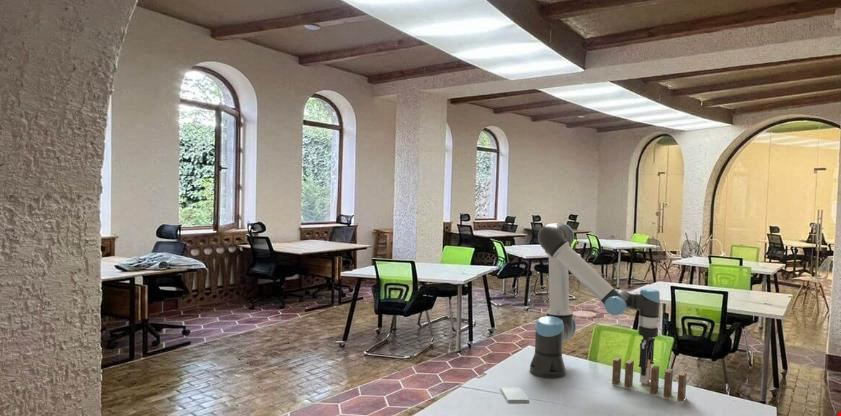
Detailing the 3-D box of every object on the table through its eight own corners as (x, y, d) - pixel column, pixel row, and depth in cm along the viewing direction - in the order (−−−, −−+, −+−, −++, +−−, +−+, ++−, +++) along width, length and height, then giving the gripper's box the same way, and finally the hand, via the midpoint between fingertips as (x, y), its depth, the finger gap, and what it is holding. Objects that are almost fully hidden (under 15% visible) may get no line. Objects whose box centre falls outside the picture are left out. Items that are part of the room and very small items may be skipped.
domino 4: (650, 393, 211) (651, 368, 211) (653, 389, 215) (654, 365, 215) (654, 394, 210) (656, 369, 209) (658, 390, 214) (659, 366, 213)
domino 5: (663, 396, 208) (664, 371, 208) (666, 392, 212) (668, 368, 211) (668, 397, 207) (669, 372, 206) (671, 394, 211) (672, 369, 210)
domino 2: (624, 386, 217) (625, 362, 217) (628, 383, 221) (629, 359, 221) (628, 387, 216) (630, 363, 216) (632, 384, 220) (633, 360, 220)
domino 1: (611, 383, 220) (613, 359, 220) (615, 380, 224) (617, 357, 224) (616, 384, 219) (617, 360, 219) (620, 381, 223) (621, 357, 223)
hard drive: (529, 399, 199) (520, 386, 211) (507, 399, 198) (500, 386, 210) (529, 404, 199) (520, 391, 211) (507, 404, 198) (500, 390, 210)
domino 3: (641, 384, 221) (642, 361, 220) (644, 381, 225) (645, 358, 224) (645, 386, 220) (647, 362, 219) (649, 382, 224) (650, 359, 223)
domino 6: (677, 400, 205) (678, 374, 204) (680, 396, 209) (681, 371, 208) (682, 401, 204) (683, 375, 203) (685, 397, 208) (686, 372, 207)
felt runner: (607, 383, 220) (607, 383, 220) (613, 378, 227) (613, 378, 227) (683, 403, 203) (683, 402, 203) (687, 397, 209) (688, 396, 209)
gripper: (652, 332, 212) (648, 389, 213) (663, 323, 226) (660, 377, 227) (632, 328, 216) (629, 384, 217) (644, 320, 230) (642, 373, 232)
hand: (645, 380), depth 222 cm, fingers closed on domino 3, 5 cm apart
